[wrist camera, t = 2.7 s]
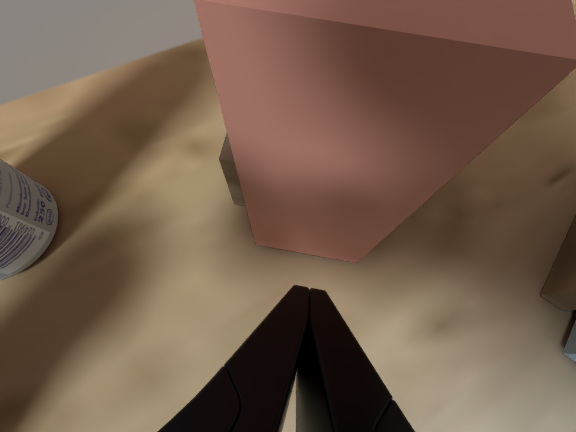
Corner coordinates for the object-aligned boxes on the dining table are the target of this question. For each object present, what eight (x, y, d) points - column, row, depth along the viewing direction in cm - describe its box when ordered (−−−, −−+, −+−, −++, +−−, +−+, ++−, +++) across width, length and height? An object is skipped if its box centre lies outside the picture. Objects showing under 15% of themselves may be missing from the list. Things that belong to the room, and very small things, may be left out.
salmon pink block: (356, 263, 15) (584, 60, 4) (255, 244, 15) (192, -2, 4) (364, 189, 17) (548, -115, 5) (271, 173, 17) (258, -156, 5)
